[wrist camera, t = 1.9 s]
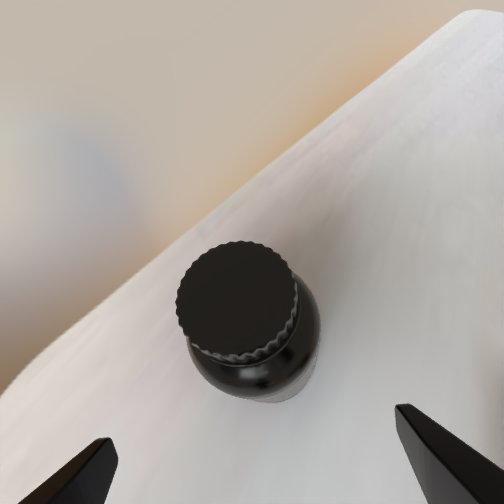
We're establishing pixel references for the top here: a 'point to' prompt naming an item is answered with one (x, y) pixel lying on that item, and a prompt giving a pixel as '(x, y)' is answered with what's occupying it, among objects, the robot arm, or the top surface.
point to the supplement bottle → (249, 322)
